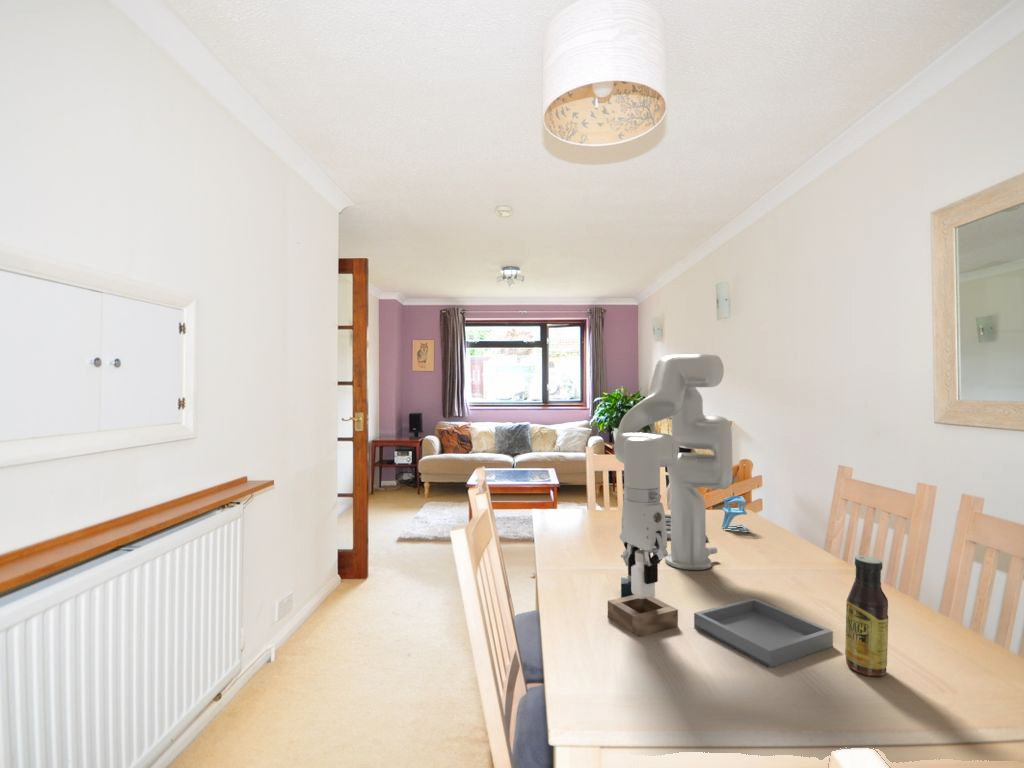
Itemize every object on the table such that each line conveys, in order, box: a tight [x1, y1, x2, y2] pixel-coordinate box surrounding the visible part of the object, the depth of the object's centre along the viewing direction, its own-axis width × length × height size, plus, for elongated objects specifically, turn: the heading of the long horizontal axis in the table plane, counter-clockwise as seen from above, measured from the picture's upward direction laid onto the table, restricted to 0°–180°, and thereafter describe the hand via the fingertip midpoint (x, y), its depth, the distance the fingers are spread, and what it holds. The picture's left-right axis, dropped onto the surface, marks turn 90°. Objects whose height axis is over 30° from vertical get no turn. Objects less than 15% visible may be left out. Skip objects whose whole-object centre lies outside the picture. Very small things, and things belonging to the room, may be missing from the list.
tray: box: [693, 597, 834, 669], centre depth 106 cm, size 18×18×3 cm
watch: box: [620, 548, 634, 598], centre depth 128 cm, size 6×8×11 cm
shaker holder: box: [607, 595, 679, 637], centre depth 113 cm, size 10×10×4 cm
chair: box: [721, 495, 751, 532], centre depth 188 cm, size 8×8×12 cm
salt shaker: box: [631, 549, 656, 599], centre depth 114 cm, size 4×4×10 cm
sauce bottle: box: [844, 555, 889, 677], centre depth 94 cm, size 7×6×20 cm
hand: (642, 577), depth 114 cm, fingers closed on salt shaker, 4 cm apart
